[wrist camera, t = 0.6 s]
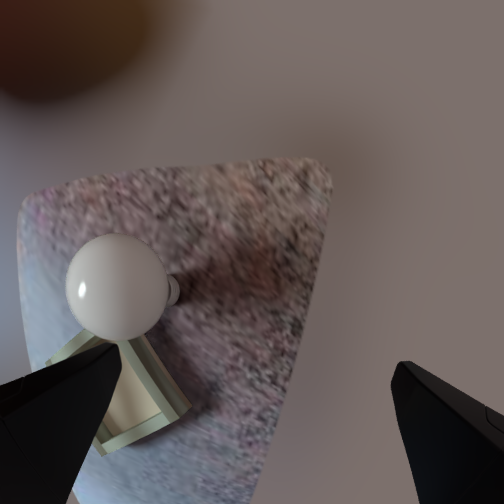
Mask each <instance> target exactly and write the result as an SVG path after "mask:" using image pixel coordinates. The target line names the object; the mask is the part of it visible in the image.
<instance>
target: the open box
mask: <svg viewBox="0 0 504 504" xmlns="http://www.w3.org/2000/svg"><path fill="white" fill-rule="evenodd" d="M104 342H111V343H116V344H117V345H118V347H119V351H120V356H121V361H122V371H121V374H120V377H119V379H118V382H117V385H116V388H115V391H114V394H113V397H112V400H111V402H110V405H109V407H108V410H107V412H106V414H105V416H104V418H103V420H102V422H101V424H100V427H99V429H98V431H97V433H96V435H95V437H94V440H93V442H92V444H93V446H94V447H95V448H96V450H97V451H98V452H99V454H100V455H101V457H102V456H104V455H106V454H109V453H111V452H113V451H115V450H117V449H120V448H122V447H124V446H126V445H128V444H130V443H132V442H134V441H136V440H139V439H141V438H143V437H145V436H147V435H149V434H151V433H153V432H155V431H157V430H158V429H160V428H162V427H164V426H166V425H168V424H170V423H172V422H174V421H176V420H177V419H179V418H181V417H182V416H183V415H184V414H185V413H186V412H187V411H188V410H189V409H190V408H191V407H192V405H191V403H190V402H189V400H188V399H187V398H186V396H185V395H184V394H183V392H182V391H181V389H180V388H179V387H178V385H177V384H176V382H175V381H174V379H173V378H172V376H171V375H170V374H169V372H168V371H167V369H166V368H165V366H164V365H163V363H162V362H161V360H160V359H159V357H158V356H157V354H156V352H155V351H154V349H153V348H152V346H151V345H150V343H149V341H148V340H147V338H146V337H145V335H144V334H143V335H141V336H139V337H137V338H134V339H131V340H126V341H111V340H106V339H102V338H100V337H97V336H95V335H93V334H92V333H90V332H89V331H87V330H86V329H83V330H82V331H81V332H80V333H79V334H77V335H76V336H75V337H74V338H73V339H72V340H71V341H69V342H68V343H67V344H66V345H65V346H64V347H62V348H61V349H60V350H59V351H58V352H57V353H56V354H54V355H53V356H52V357H51V358H50V359H49V360H48V361H47V362H45V364H46V366H47V367H48V366H50V365H52V364H55V363H57V362H60V361H62V360H64V359H67V358H69V357H71V356H74V355H76V354H78V353H81V352H83V351H85V350H88V349H90V348H92V347H95V346H97V345H99V344H102V343H104Z"/></svg>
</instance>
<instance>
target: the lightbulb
mask: <svg viewBox="0 0 504 504" xmlns="http://www.w3.org/2000/svg"><path fill="white" fill-rule="evenodd" d="M65 290H66V297H67V301H68V304H69V307H70V309H71V312H72V313H73V315H74V317H75V318H76V320H77V321H78V322H79V323H80V324H81V325H82V326H83V327H84V328H85V329H86V330H87V331H89V332H90V333H92V334H93V335H95V336H97V337H100V338H102V339H106V340H111V341H126V340H131V339H134V338H137V337H139V336H141V335H143V334H145V333H146V332H148V331H149V330H150V329H151V328H152V327H153V326H154V325H155V324H156V323H157V322H158V320H159V319H160V317H161V316H162V314H163V312H164V310H165V307H170V306H172V305H174V304H175V303H176V302H177V300H178V298H179V295H180V287H179V284H178V282H177V280H176V279H175V278H174V277H173V276H171V275H168V274H167V273H166V270H165V267H164V265H163V263H162V261H161V259H160V258H159V256H158V255H157V253H156V252H155V251H154V250H153V249H152V248H151V247H150V246H149V245H148V244H146V243H145V242H144V241H142V240H140V239H138V238H136V237H134V236H131V235H127V234H121V233H110V234H104V235H101V236H98V237H96V238H93V239H92V240H90V241H88V242H87V243H85V244H84V245H83V246H82V247H81V248H80V249H79V250H78V251H77V253H76V254H75V255H74V257H73V259H72V260H71V262H70V265H69V267H68V270H67V274H66V282H65Z"/></svg>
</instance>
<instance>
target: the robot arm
mask: <svg viewBox="0 0 504 504" xmlns="http://www.w3.org/2000/svg"><path fill="white" fill-rule="evenodd" d="M121 371H122V361H121V356H120V351H119V347H118V345H117V344H116V343H111V342H104V343H102V344H99V345H97V346H95V347H92V348H90V349H88V350H85V351H83V352H81V353H78V354H76V355H74V356H71V357H69V358H67V359H64V360H62V361H60V362H57V363H55V364H52V365H50V366H48V367H45V368H43V369H40V370H38V371H36V372H33V373H31V374H28V375H26V376H25V377H21V378H19V379H16V380H14V381H11V382H8V383H6V384H3V385H0V504H66V502H67V499H68V496H69V494H70V492H71V490H72V487H73V485H74V482H75V480H76V478H77V475H78V473H79V471H80V468H81V466H82V464H83V462H84V459H85V457H86V455H87V453H88V450H89V448H90V446H91V444H92V442H93V440H94V437H95V435H96V433H97V431H98V429H99V427H100V424H101V422H102V420H103V418H104V416H105V414H106V412H107V410H108V407H109V405H110V402H111V400H112V397H113V394H114V391H115V388H116V385H117V382H118V379H119V377H120V374H121ZM391 391H392V396H393V401H394V406H395V411H396V417H397V421H398V426H399V429H400V433H401V436H402V440H403V443H404V446H405V450H406V453H407V457H408V460H409V464H410V468H411V471H412V475H413V479H414V483H415V486H416V491H417V495H418V499H419V503H420V504H504V416H503V415H502V414H500V413H498V412H496V411H494V410H493V409H491V408H489V407H487V406H485V405H484V404H482V403H480V402H479V401H477V400H475V399H474V398H472V397H470V396H469V395H467V394H465V393H464V392H462V391H460V390H458V389H457V388H455V387H453V386H452V385H450V384H448V383H447V382H445V381H443V380H441V379H440V378H438V377H437V376H435V375H433V374H431V373H430V372H428V371H426V370H424V369H423V368H421V367H420V366H418V365H416V364H415V363H413V362H411V361H401V362H399V363H398V364H397V366H396V369H395V372H394V375H393V378H392V381H391Z"/></svg>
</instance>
